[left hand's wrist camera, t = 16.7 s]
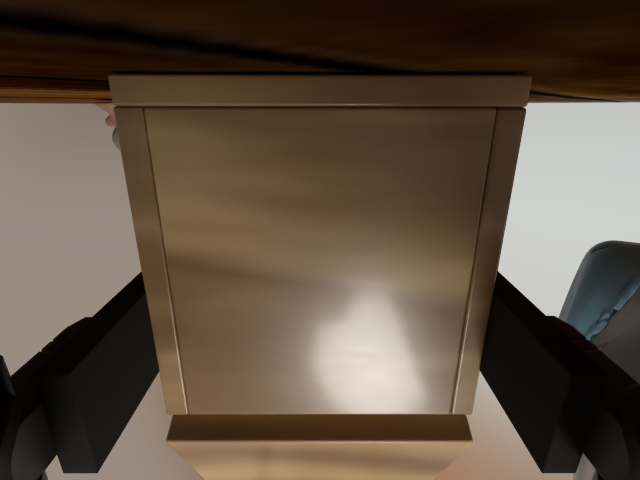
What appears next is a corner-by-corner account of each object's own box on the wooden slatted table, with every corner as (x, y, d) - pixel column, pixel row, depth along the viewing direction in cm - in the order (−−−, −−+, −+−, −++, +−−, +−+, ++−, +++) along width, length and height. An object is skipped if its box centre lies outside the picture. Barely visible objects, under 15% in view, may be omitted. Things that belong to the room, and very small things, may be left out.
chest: (398, 99, 23) (388, 249, 26) (240, 99, 23) (250, 249, 26) (534, 74, 8) (472, 415, 12) (105, 73, 8) (166, 415, 12)
